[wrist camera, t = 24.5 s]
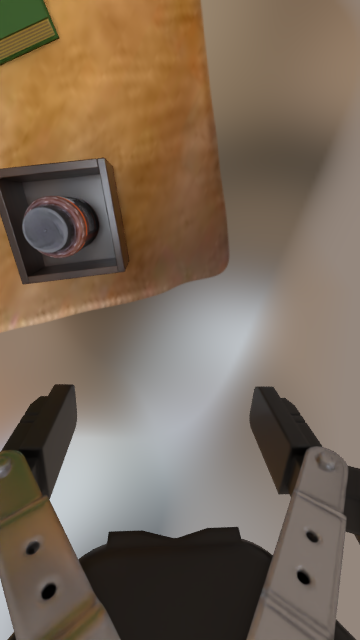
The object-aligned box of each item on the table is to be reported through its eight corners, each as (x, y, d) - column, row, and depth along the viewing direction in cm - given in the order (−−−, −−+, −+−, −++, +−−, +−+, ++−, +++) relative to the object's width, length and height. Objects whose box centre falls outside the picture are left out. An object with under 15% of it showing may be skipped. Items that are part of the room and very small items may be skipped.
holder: (112, 166, 36) (104, 157, 29) (129, 260, 40) (125, 271, 33) (16, 176, 35) (-15, 170, 28) (43, 271, 39) (22, 284, 33)
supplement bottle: (72, 186, 35) (39, 178, 25) (109, 224, 37) (94, 232, 26) (40, 221, 36) (-5, 228, 26) (78, 257, 38) (50, 276, 28)
